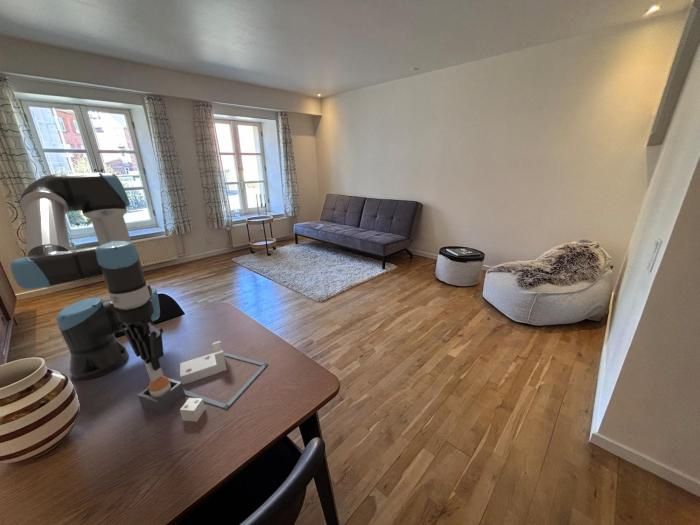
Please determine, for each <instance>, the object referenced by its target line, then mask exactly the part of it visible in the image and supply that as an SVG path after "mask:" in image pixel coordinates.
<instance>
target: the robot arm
mask: <svg viewBox="0 0 700 525" xmlns="http://www.w3.org/2000/svg"><path fill="white" fill-rule="evenodd" d="M19 199H20V201H19V204H20V208H21V210H22V212H23V213H24V214H25V227H26V231H25V232H26V233H25V234H26V256H22V257H20V258H15V259H13V260H12V261H11V262H10V270H11V274H12V276H13V279H14V281H15V283H16V284H17V285H18V287H19V288H20V289H22V290H26V291H29V290H35V289H41V288H50V287H54V286H59V285H62V284H67V283H72V282H77V281H81V280H86V279H90V278H91V279H92V278H96V277H100V276H102V277H103V278H104V282H105V284H106V287H107V290H108V293H109V298H110V299H107V300H103V299H102V298H101V297H97V296H96V297H89V298H85V299H82V300H77V301H76V302H74V303H71V304H69V305H67V306H66V307H64V308H62V309H61V310H60V311H59V312H58V313H57V315H56V318H55V319H56V322H57V326H58V330H59V331H60V333H61V335H62V337H63V340H64V342H65V344H66V346H67V348H68V350H69V353H70V360H69V361H70V362H69V372H70V374H71V377H72V378H73V379H74V380H78V381H86V380H93V379H95V378H99V377H102V376H104V375H107V374H109V373H111V372H112V371H115V370H117V369H118V368H119V367H121V366H122V365H123V364H124V363H125V362H126V361H127V359H128V358H129V352H128V350H127V348H126V347H125V345H123V344H122V343H121V342H120V340H118V339H117V338H116V335H115V334H117V333H120V332H123V333H124V334H125V337H126V338H127V341H128V342H129V344H130V346H131V348H132V350H133V352H134V354H135V356H136V357H140V359H141V360H142V361H143V362H144V365H145V368H146V372H147V374H148V377H149V381H155V380H157V379H158V378H160V377H161V376H162V375H163V376H164V373H163V369H162V367H161V364H160V359H161V358H162V357H164V355H165V354H164V346H163V345H164V344H163V343H164V342H163V333H164V330H163V328H162V327H159V328H157V327H155V323H154V321H156V320H158V319H159V318H160V315H161V309H160V300H159V296H158V290H157V288H154V287H153V288H152V287H151V284H150V283H148V282H146V279H145V276H144V271H143V267H142V263H141V259H140V254H139V252H138V250H137V247H136V245H135V243H133V242H132V240H131V237H130V235H129V234H130V233H129V231H128V227H127V224H126V221H125V218H124V216H125V215H126V213H127V212H128V210H127V207H130V206H131V202H130V200H129V197H128V195H127V191H126V189H125V187H124V186H123V184H122V182H121V180H120V178H119V177H118V176H117V175H116V174H115V173H113V172H86V173H85V172H83V173H56V174H55V173H54V174H49V175H46V176H42V177H41V178H38V179H37V180H36V179H35V181H33V182H31V183H30V184H28V186H27V187H26V188H25V189H24V190H23V192H22V194H21V195H20V198H19ZM73 211H74V212H77V211H78V212H79V211H82V216H84V217H85V218H87V219H89V220H90V221H91V223H92V226H93V230H94V233H95V235H96V238H97V239H96V240H97V242H98V244H99V245H97V246H91V247H85V248H78V249H72V250H71V245H70V244H71V243H70V240H69V239H70V238H69V233H68V226H67V222H66V221H67V220H66V215H67V213H68V212H73Z"/></svg>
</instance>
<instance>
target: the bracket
mask: <svg viewBox="0 0 700 525" xmlns="http://www.w3.org/2000/svg"><path fill="white" fill-rule="evenodd" d="M212 348H213V352H211V353H208V354H206V355H202V356H199V357H195V358H193V359H190V360H187V361H183V362H179V363H180V364H179V369H180V370H179V373H180V380H181V381H180V382H182V385H183V386H184V385H187V384H190V383H192V382H195V381H199V380H201V379H204V378H207V377H209V376H213V375H216V374H218V373H221V372H225V371H227V370H228V369H227V364H226V359H225V356H224V350H223V346H222V342H221V340H218V341H214V342H212Z"/></svg>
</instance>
